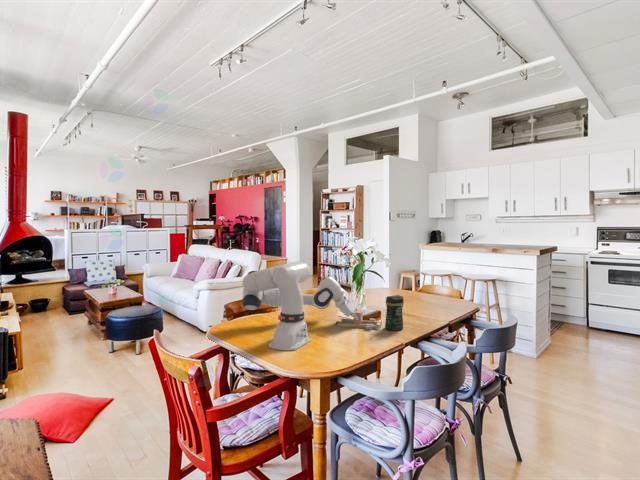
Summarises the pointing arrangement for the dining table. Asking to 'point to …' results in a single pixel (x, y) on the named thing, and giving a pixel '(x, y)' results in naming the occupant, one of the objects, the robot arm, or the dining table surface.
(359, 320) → the marker sleeve
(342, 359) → the dining table surface
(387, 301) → the coffee jar
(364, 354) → the dining table surface
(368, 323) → the comb track
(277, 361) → the dining table surface
